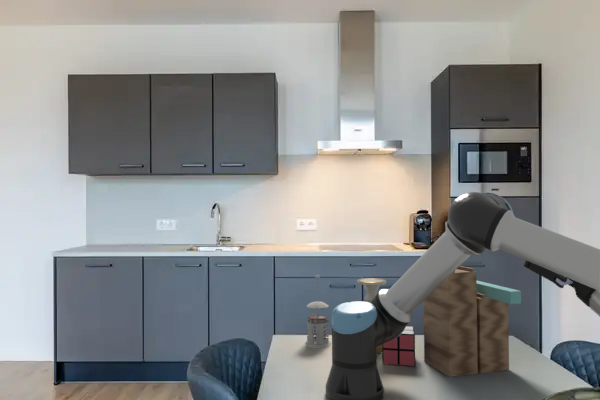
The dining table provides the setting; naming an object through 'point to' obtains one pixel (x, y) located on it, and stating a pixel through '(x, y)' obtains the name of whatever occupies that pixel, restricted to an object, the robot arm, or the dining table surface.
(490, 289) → the bar
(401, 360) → the puzzle cube
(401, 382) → the dining table surface
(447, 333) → the brown boxy piece
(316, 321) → the french press
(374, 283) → the candle holder
